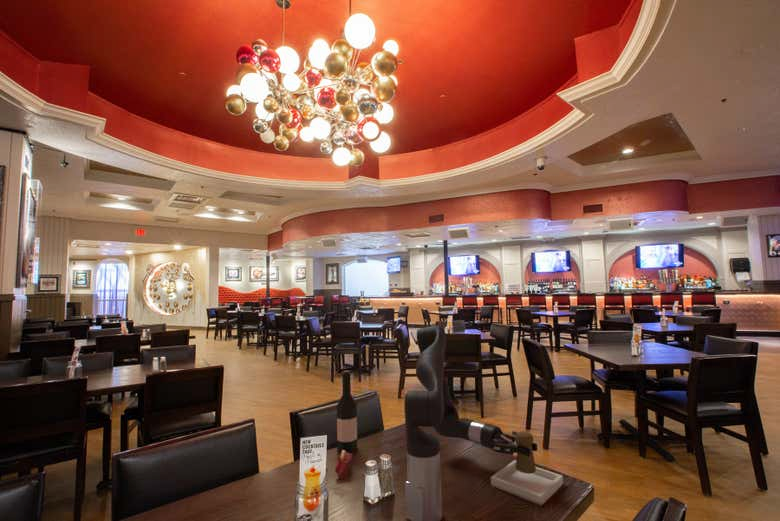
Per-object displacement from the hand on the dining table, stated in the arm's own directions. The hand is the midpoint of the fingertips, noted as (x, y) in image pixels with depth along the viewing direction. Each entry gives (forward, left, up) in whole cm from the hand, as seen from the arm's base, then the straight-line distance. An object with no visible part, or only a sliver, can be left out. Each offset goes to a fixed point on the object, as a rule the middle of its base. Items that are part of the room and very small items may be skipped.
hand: (533, 450), depth 115 cm
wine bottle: (-22, +66, -11) cm, 70 cm away
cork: (0, +3, -7) cm, 7 cm away
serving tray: (0, +3, -11) cm, 11 cm away
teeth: (-38, +55, -12) cm, 67 cm away
